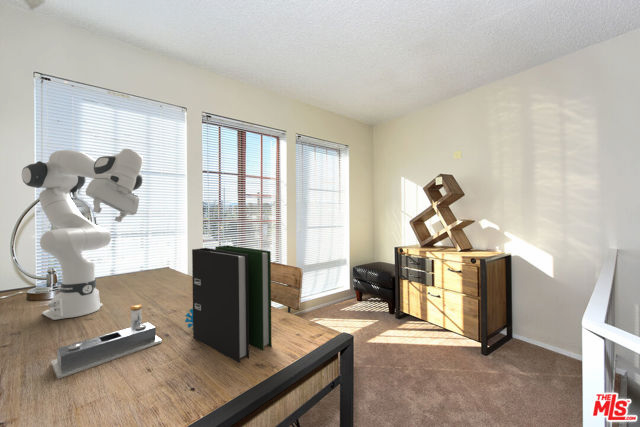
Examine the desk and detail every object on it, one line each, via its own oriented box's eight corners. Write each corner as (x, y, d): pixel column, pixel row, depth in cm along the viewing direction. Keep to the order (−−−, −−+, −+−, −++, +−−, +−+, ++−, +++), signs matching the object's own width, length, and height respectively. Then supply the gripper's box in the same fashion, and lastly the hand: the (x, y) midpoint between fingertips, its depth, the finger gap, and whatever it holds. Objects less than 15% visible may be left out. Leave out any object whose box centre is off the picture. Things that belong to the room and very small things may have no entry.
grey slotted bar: (57, 379, 73) (57, 358, 72) (51, 363, 80) (51, 345, 80) (161, 342, 93) (161, 326, 93) (149, 332, 100) (148, 318, 100)
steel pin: (128, 334, 100) (128, 307, 99) (137, 330, 103) (137, 304, 103) (135, 335, 98) (134, 308, 98) (144, 331, 102) (144, 305, 102)
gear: (188, 331, 97) (184, 307, 103) (182, 339, 100) (179, 315, 106) (217, 326, 105) (212, 304, 111) (212, 334, 108) (207, 311, 113)
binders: (273, 345, 90) (272, 250, 90) (234, 365, 78) (233, 256, 78) (228, 324, 107) (227, 245, 107) (191, 338, 95) (190, 249, 95)
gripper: (133, 196, 117) (122, 226, 112) (90, 172, 99) (74, 206, 93) (146, 196, 116) (135, 226, 111) (105, 171, 97) (90, 206, 92)
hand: (107, 217), depth 102 cm, fingers open, 8 cm apart
